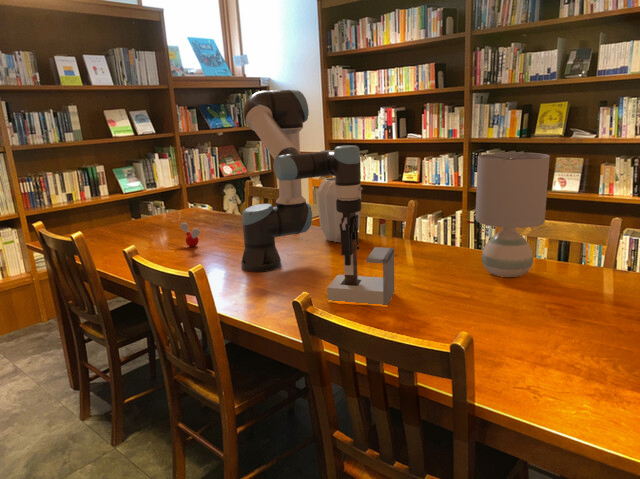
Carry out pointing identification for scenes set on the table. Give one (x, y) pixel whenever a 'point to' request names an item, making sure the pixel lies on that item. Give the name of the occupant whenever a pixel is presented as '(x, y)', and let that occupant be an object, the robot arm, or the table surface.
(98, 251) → the table surface
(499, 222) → the lamp
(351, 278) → the dowel
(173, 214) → the table surface
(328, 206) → the vase
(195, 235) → the molecular model
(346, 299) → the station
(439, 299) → the table surface
